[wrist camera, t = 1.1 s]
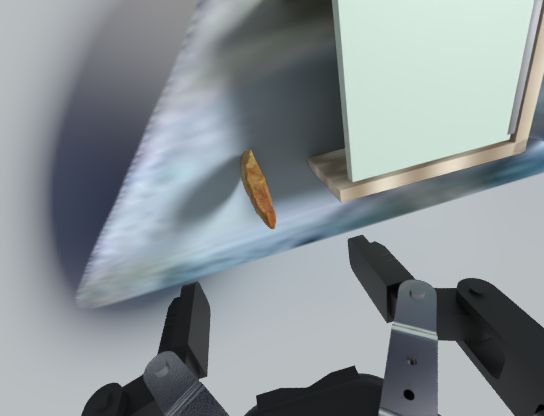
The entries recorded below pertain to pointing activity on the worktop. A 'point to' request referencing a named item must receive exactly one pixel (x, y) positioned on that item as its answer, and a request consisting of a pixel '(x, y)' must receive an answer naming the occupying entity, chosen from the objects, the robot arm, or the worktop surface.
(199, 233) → the worktop surface
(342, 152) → the trapdoor frame
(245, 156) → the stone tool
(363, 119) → the trapdoor
